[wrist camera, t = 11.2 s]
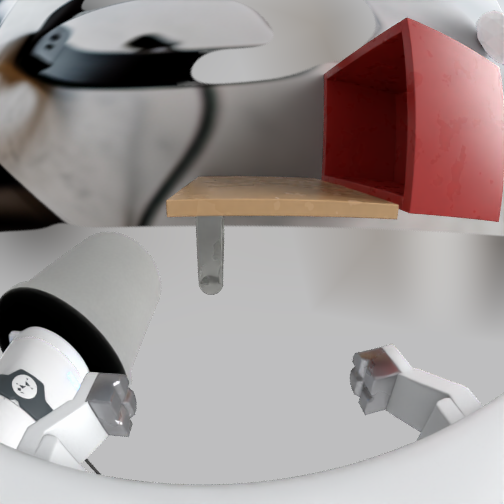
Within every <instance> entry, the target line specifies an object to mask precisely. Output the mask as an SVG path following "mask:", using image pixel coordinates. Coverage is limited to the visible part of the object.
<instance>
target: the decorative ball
mask: <svg viewBox="0 0 504 504" xmlns="http://www.w3.org/2000/svg"><path fill="white" fill-rule="evenodd" d="M476 27H477V38H478V40H479V42H480V43H481V45H482V47H483V48H484V50H485V51H486V52H487V54H488V55H489V56H490V57H491V58H492V59H494V60H495V61H496V62H498V63H500V64H502V65H504V13H501V12H498V11H490V12H486V13H484V14H482V16H481V17H480V18H479V19H478V21H477V22H476Z"/></svg>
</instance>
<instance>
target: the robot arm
mask: <svg viewBox="0 0 504 504" xmlns="http://www.w3.org/2000/svg"><path fill="white" fill-rule="evenodd" d="M9 341H10V345H9V346H8V348H7V349H6V350H5V352H4V353H3V355H2V356H1V358H0V504H504V393H503V394H501V395H500V396H498V397H497V398H495V399H494V400H493V401H491V402H489V403H488V404H486V405H484V406H482V404H481V403H480V402H479V401H478V399H476V397H475V396H474V395H473V394H472V392H471V391H470V390H469V389H468V388H467V387H466V386H463V385H460V384H458V383H455V382H452V381H449V380H447V379H444V378H441V377H439V376H436V375H434V374H431V373H428V372H426V371H423V370H420V369H418V368H415V369H413V368H412V367H411V365H410V364H409V363H408V362H407V360H406V359H405V358H404V357H403V356H402V354H401V353H400V352H399V351H398V349H397V348H396V347H395V346H394V345H392V344H389V345H386V346H382V347H379V348H375V349H371V350H367V351H363V352H358V353H355V354H354V356H353V364H354V366H355V367H354V368H353V369H352V370H351V374H350V384H351V387H352V390H353V393H354V394H355V395H357V396H359V397H360V399H359V404H360V406H361V408H362V410H363V412H364V414H365V415H367V414H371V413H374V412H378V411H381V410H385V409H386V411H388V412H389V413H391V414H392V415H394V416H395V417H397V418H399V419H400V420H402V421H403V422H405V423H407V424H408V425H410V426H411V427H413V428H415V429H416V430H418V431H420V432H421V434H420V435H419V437H418V439H417V441H415V442H413V443H411V444H408V445H406V446H403V447H401V448H398V449H395V450H393V451H390V452H387V453H384V454H382V455H379V456H376V457H373V458H370V459H367V460H363V461H360V462H357V463H353V464H350V465H346V466H343V467H339V468H334V469H330V470H326V471H322V472H317V473H312V474H307V475H302V476H297V477H291V478H284V479H277V480H270V481H261V482H251V483H239V484H217V485H186V484H166V483H153V482H144V481H136V480H129V479H122V478H116V477H110V476H105V475H101V474H100V473H99V472H98V471H97V470H96V469H95V467H94V466H93V465H92V464H91V463H90V462H89V461H88V459H87V457H88V456H89V455H90V454H91V453H92V452H93V451H94V450H95V449H96V448H97V447H98V446H99V445H100V444H101V443H102V442H103V441H104V440H105V439H106V438H107V437H108V435H114V436H124V437H125V436H126V437H129V434H130V431H131V427H132V422H131V420H130V418H131V417H133V416H134V415H135V412H136V398H135V395H134V392H133V391H132V390H131V389H130V388H128V385H129V381H128V379H127V377H126V375H123V374H109V373H94V372H89V370H88V367H87V365H86V364H85V362H84V360H83V359H82V357H81V356H80V355H79V353H78V352H77V351H76V350H75V349H74V348H73V347H72V346H71V345H70V344H69V343H68V342H67V341H66V340H64V339H63V338H62V337H60V336H59V335H57V334H56V333H54V332H52V331H50V330H48V329H45V328H42V327H29V328H27V329H25V330H23V331H11V333H10V334H9ZM84 460H85V461H86V462H87V464H88V465H89V466H90V467H91V468H92V469H93V470H94V471H95V472H96V474H95V473H90V472H87V471H86V470H85V469H84V468H83V467H82V466H81V465H80V464H81V463H82V462H83V461H84Z"/></svg>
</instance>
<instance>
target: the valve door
mask: <svg viewBox="0 0 504 504" xmlns="http://www.w3.org/2000/svg"><path fill="white" fill-rule="evenodd" d="M398 207H399V205H398V204H395V203H392V202H389V201H387V200H384V199H381V198H378V197H375V196H372V195H369V194H366V193H363V192H360V191H356V190H353V189H350V188H347V187H344V186H340V185H337V184H334V183H330V182H327V181H323V180H320V179H316V178H300V177H269V176H203V177H198V178H196V179H195V180H193V181H192V182H191V183H189V184H188V185H186V186H185V187H184V188H182V189H181V190H180V191H178V192H177V193H176V194H174V195H173V196H172V197H170V198H169V199H168V200H166V211H167V217H191V216H196V233H197V234H196V236H197V259H198V277H199V287H200V289H201V290H202V291H203V292H204V293H206V294H209V295H214V294H217V293H218V292H219V291H220V290H221V289H222V287H223V258H224V257H223V256H224V216H316V217H354V218H380V219H397V216H398Z"/></svg>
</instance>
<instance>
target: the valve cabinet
mask: <svg viewBox="0 0 504 504" xmlns="http://www.w3.org/2000/svg"><path fill="white" fill-rule="evenodd" d="M322 180H323V181H327V182H330V183H334V184H337V185H340V186H344V187H347V188H350V189H353V190H356V191H360V192H363V193H366V194H369V195H372V196H375V197H378V198H381V199H384V200H387V201H389V202H392V203H395V204H398V205H399V207H398V209H400V210H403V211H405V212H408V213H413V214H426V215H438V216H449V217H459V218H469V219H478V220H487V221H495V222H499V216H500V209H501V202H502V193H503V182H504V99H503V88H502V80H501V73H500V67H498V66H497V65H495V64H494V63H493V62H491V61H490V60H488V59H486V58H485V57H483V56H482V55H480V54H479V53H477V52H475V51H474V50H472V49H470V48H469V47H467V46H465V45H463V44H462V43H460V42H458V41H456V40H454V39H452V38H450V37H449V36H447V35H445V34H443V33H441V32H439V31H437V30H434V29H432V28H430V27H428V26H426V25H424V24H421V23H419V22H417V21H414V20H412V19H409V18H405V19H404V20H402V21H401V22H399V23H397V24H396V25H394V26H392V27H391V28H389V29H388V30H386V31H385V32H383V33H382V34H380V35H379V36H377V37H376V38H374V39H373V40H371V41H370V42H368V43H367V44H365V45H364V46H362V47H361V48H359V49H358V50H357V51H355V52H354V53H352V54H351V55H350V56H348V57H347V58H345V59H344V60H343V61H341V62H340V63H339V64H337V65H336V66H335V67H333V68H332V69H331V70H329V71H328V72H327V73H325V74H324V133H323V161H322Z"/></svg>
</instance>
